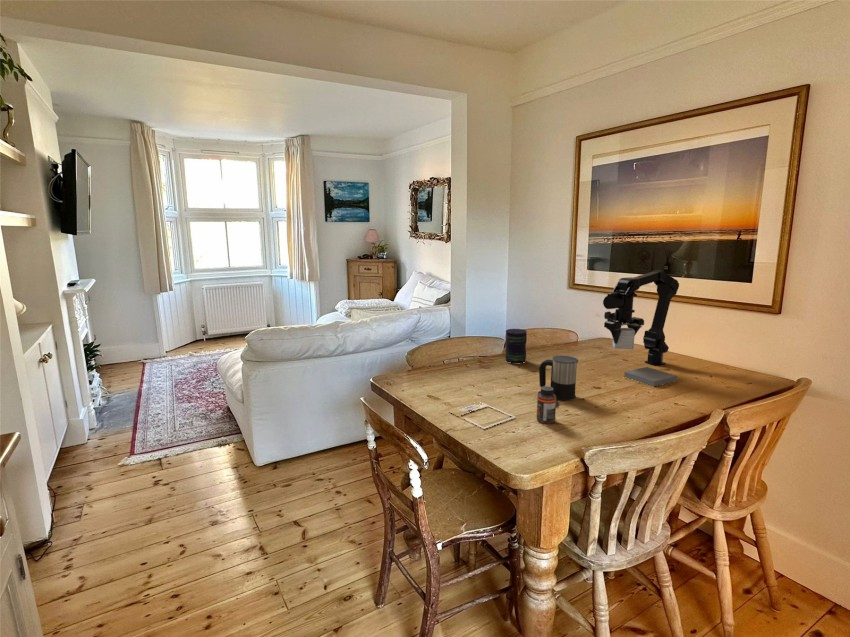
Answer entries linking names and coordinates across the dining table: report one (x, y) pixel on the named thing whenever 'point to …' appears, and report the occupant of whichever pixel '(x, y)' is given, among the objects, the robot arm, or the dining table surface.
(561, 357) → the milk frother
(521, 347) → the storage jar
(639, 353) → the dining table surface
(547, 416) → the supplement bottle
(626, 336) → the medicine box
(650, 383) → the riser block
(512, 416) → the photo frame
